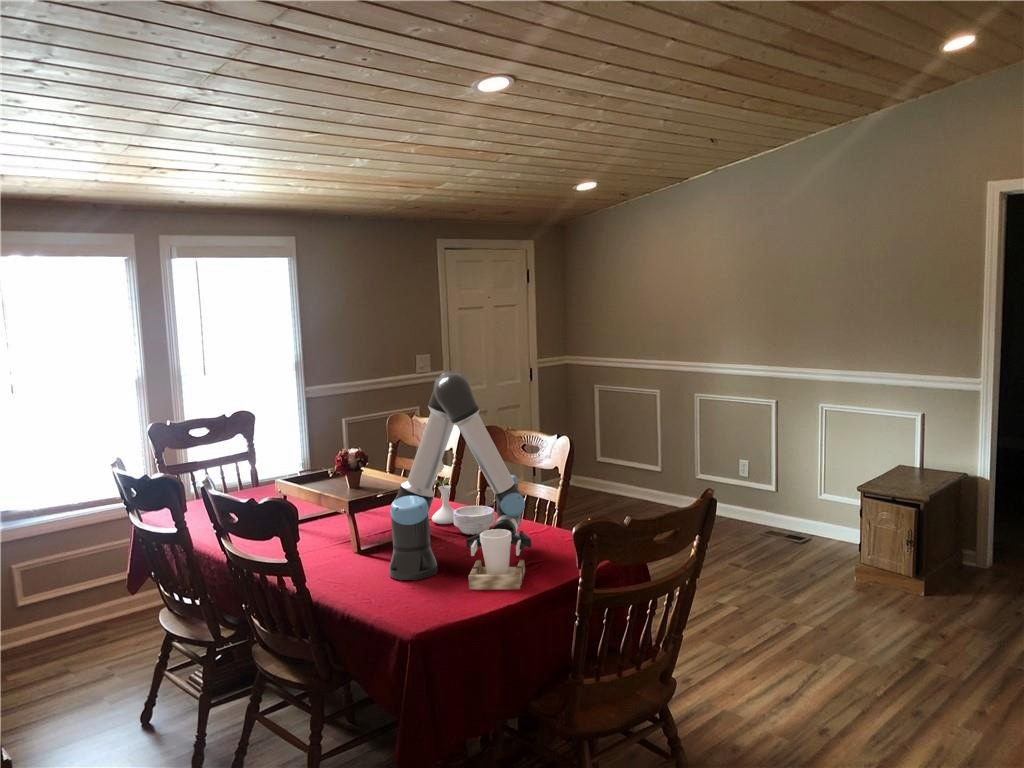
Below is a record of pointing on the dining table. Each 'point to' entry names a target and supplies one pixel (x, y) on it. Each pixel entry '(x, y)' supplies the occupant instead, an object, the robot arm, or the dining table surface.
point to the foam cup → (496, 550)
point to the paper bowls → (474, 519)
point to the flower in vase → (445, 511)
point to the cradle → (496, 577)
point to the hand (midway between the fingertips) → (494, 551)
